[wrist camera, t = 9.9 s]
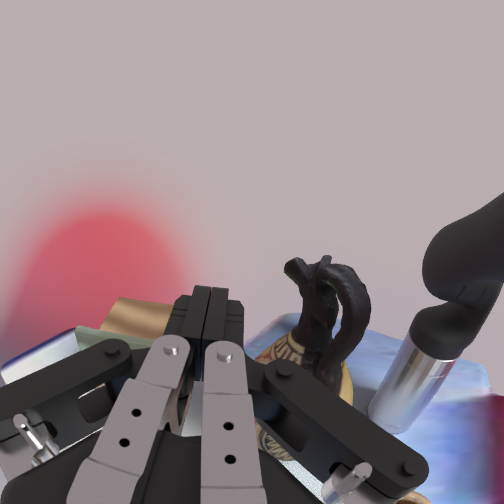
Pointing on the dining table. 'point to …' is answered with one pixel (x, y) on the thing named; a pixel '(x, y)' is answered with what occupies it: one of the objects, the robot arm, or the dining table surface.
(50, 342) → the dining table surface
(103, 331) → the lid
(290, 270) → the ceramic jug
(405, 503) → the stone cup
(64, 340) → the dining table surface
